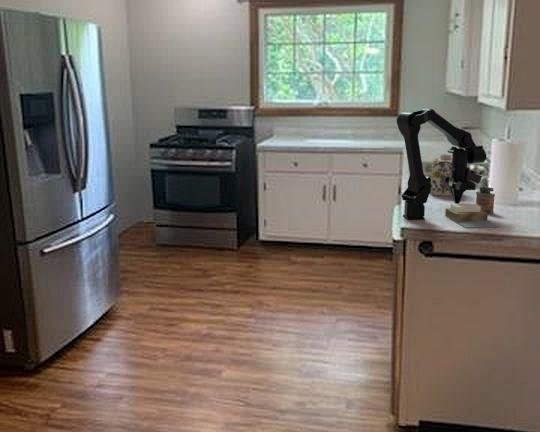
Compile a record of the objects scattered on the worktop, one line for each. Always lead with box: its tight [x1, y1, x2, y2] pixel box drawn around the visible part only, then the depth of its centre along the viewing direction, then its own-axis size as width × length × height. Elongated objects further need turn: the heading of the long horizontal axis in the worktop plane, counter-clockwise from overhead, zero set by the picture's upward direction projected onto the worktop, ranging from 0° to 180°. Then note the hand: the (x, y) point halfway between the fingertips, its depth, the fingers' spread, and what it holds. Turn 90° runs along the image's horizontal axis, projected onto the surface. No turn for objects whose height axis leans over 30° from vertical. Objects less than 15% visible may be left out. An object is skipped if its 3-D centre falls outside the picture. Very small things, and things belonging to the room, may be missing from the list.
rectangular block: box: [450, 202, 481, 212], centre depth 219 cm, size 9×6×2 cm, turn 95°
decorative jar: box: [429, 153, 452, 197], centre depth 265 cm, size 12×12×18 cm
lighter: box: [475, 185, 496, 215], centre depth 229 cm, size 8×3×10 cm, turn 31°
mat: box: [454, 220, 499, 229], centre depth 209 cm, size 12×9×1 cm
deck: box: [444, 207, 489, 223], centre depth 218 cm, size 12×10×3 cm
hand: (456, 204), depth 227 cm, fingers closed
